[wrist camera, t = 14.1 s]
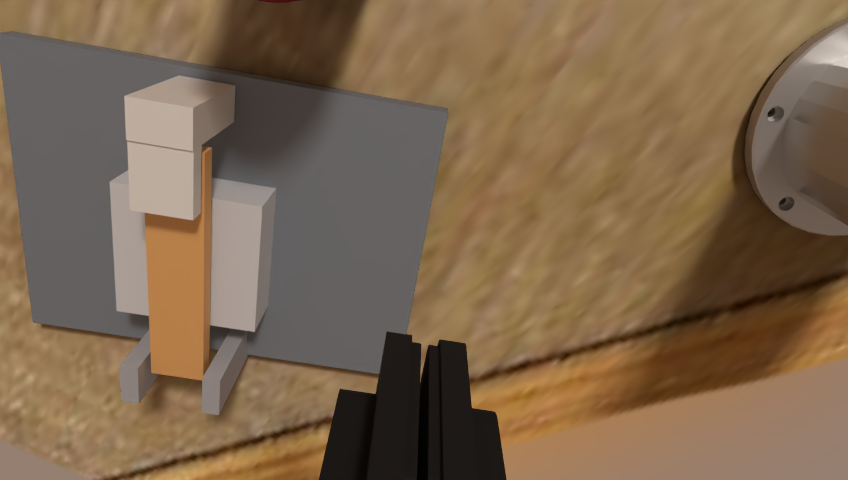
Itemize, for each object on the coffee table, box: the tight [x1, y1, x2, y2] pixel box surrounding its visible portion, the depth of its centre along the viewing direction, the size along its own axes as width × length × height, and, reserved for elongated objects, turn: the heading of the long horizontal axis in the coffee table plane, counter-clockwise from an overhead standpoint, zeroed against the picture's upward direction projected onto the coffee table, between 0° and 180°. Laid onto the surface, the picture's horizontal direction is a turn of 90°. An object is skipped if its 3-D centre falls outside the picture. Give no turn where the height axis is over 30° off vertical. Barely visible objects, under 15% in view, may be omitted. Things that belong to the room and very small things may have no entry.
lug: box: [124, 75, 235, 220], centre depth 29 cm, size 3×6×6 cm, turn 170°
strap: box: [145, 146, 212, 380], centre depth 31 cm, size 3×14×1 cm, turn 170°
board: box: [0, 31, 448, 415], centre depth 33 cm, size 24×18×6 cm
